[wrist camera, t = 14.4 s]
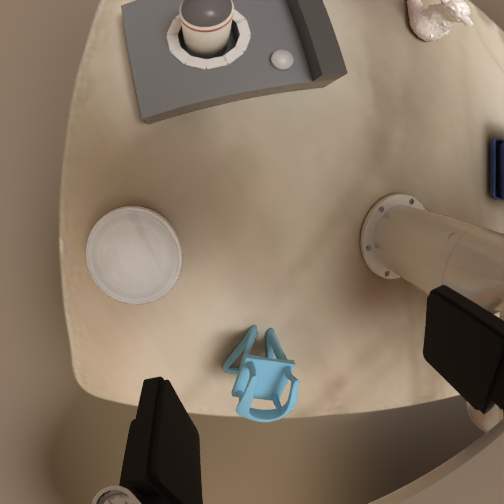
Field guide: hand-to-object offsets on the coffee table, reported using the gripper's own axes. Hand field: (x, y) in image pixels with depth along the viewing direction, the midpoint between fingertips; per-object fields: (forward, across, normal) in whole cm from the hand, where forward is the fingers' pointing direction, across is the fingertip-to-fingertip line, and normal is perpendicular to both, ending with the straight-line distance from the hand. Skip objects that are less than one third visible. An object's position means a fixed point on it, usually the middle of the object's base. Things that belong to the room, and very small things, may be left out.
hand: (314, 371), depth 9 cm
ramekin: (+29, +12, 0) cm, 31 cm away
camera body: (+28, -4, -22) cm, 36 cm away
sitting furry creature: (+29, -37, -25) cm, 53 cm away
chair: (+28, +2, +19) cm, 34 cm away
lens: (+27, -2, -22) cm, 35 cm away
